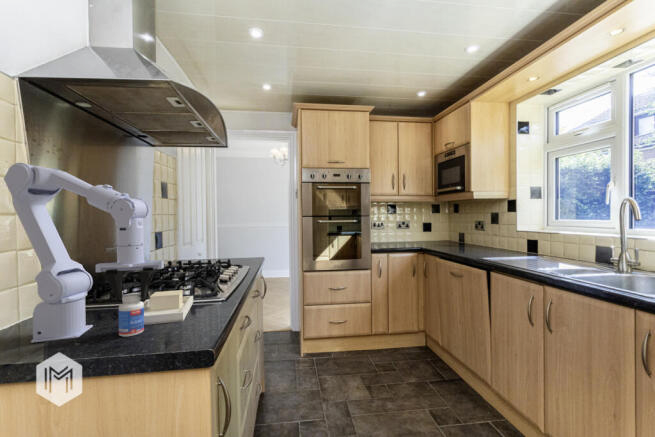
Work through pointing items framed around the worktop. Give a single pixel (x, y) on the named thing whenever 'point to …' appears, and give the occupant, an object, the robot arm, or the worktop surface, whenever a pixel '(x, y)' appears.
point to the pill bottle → (131, 315)
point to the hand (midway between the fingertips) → (131, 298)
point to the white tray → (167, 313)
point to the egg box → (166, 300)
